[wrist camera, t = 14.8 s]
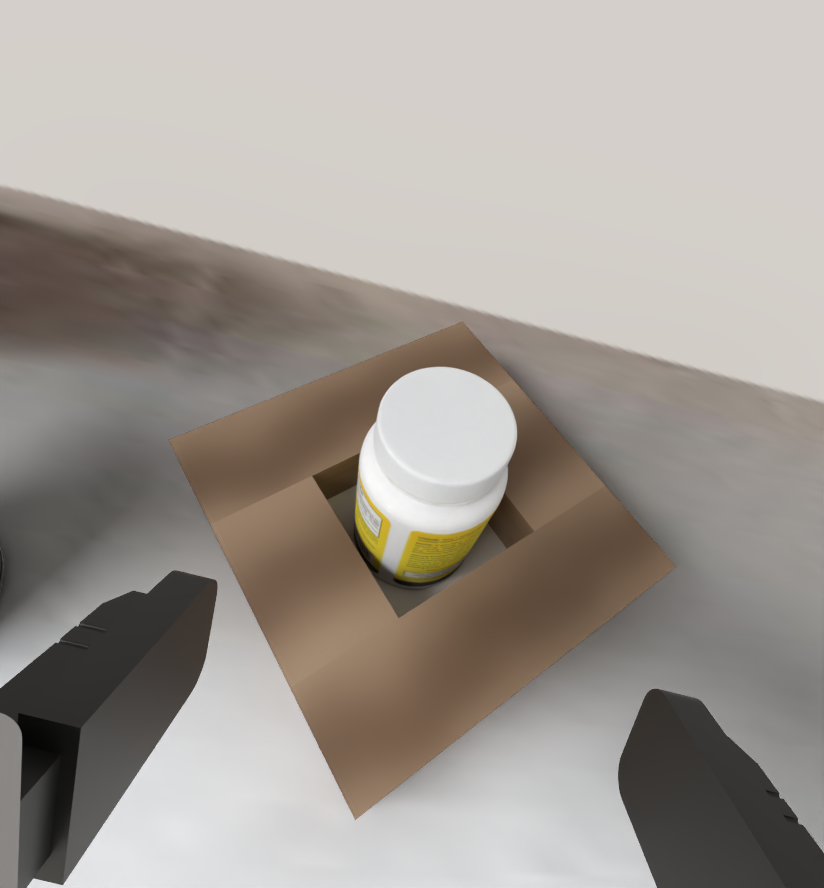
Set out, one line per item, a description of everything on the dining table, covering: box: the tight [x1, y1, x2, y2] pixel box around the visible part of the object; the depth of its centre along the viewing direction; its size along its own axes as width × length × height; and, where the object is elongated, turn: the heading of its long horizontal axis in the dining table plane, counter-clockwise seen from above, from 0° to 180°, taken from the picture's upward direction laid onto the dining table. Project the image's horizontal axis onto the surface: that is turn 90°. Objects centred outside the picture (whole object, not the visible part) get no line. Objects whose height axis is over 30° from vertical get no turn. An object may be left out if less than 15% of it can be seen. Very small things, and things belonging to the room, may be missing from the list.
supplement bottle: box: [354, 367, 517, 589], centre depth 21 cm, size 6×6×10 cm
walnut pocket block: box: [169, 322, 676, 820], centre depth 24 cm, size 16×16×4 cm
